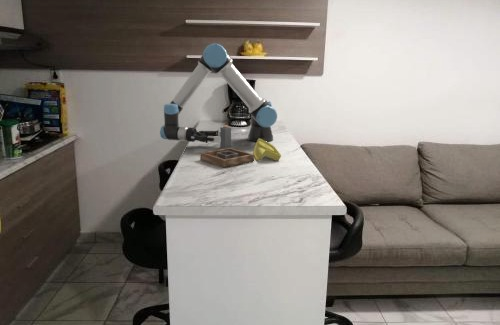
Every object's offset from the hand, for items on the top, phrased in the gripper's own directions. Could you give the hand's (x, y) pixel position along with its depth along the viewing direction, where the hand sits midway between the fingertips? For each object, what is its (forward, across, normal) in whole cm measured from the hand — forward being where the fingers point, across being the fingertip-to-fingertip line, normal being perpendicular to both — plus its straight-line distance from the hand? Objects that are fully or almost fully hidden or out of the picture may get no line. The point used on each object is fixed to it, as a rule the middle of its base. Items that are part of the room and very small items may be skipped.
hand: (225, 137), depth 204 cm
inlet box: (+9, +21, -7) cm, 24 cm away
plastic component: (+24, +6, -7) cm, 26 cm away
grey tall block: (0, 0, -7) cm, 7 cm away
